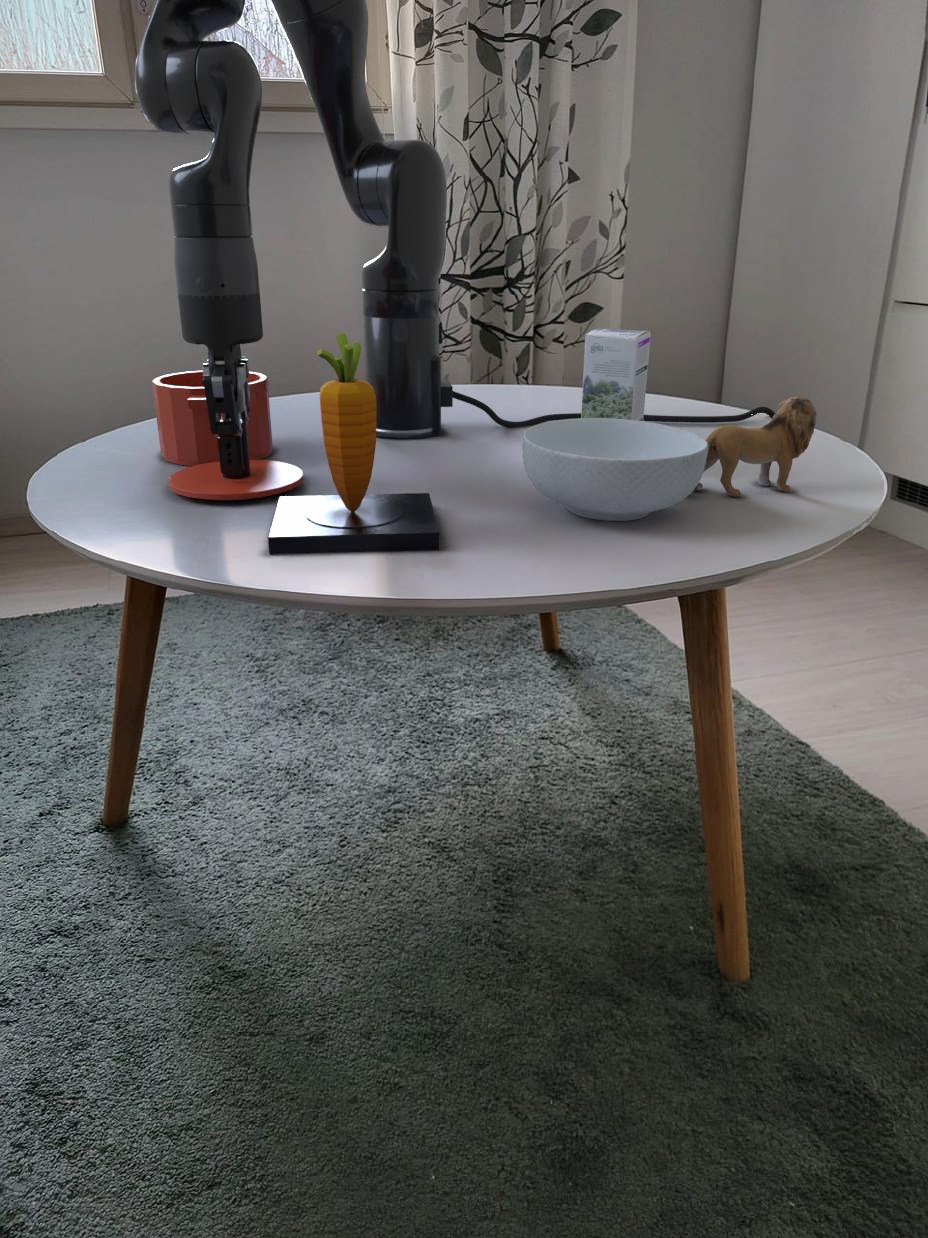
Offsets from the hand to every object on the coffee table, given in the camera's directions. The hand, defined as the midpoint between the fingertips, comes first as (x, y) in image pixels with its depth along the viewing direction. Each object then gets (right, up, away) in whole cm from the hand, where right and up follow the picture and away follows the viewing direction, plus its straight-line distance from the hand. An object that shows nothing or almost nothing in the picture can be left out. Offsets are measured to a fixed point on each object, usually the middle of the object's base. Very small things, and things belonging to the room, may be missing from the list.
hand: (235, 467), depth 94 cm
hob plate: (+14, -7, -12) cm, 19 cm away
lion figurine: (+52, -2, +1) cm, 52 cm away
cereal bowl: (+37, -5, -6) cm, 38 cm away
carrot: (+13, -6, -12) cm, 19 cm away
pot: (-5, +4, +14) cm, 16 cm away
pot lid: (0, -1, +1) cm, 1 cm away
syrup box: (+39, +1, +9) cm, 40 cm away
